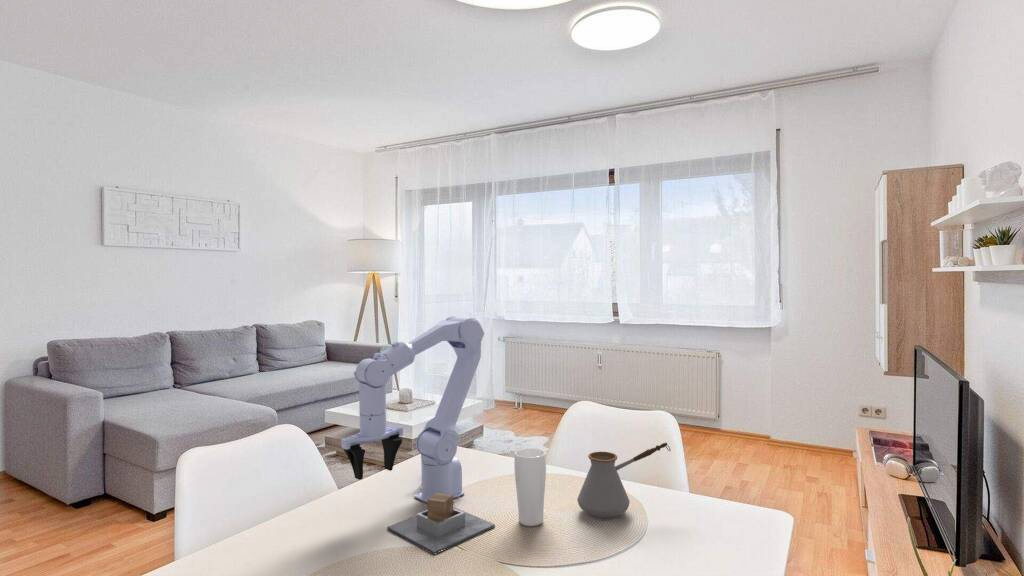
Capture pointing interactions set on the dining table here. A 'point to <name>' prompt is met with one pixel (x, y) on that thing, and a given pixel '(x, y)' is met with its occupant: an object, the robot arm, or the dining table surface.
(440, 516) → the rail end post
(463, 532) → the grey square socket base
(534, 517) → the drinking glass
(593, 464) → the coffee pot
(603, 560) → the dining table surface
